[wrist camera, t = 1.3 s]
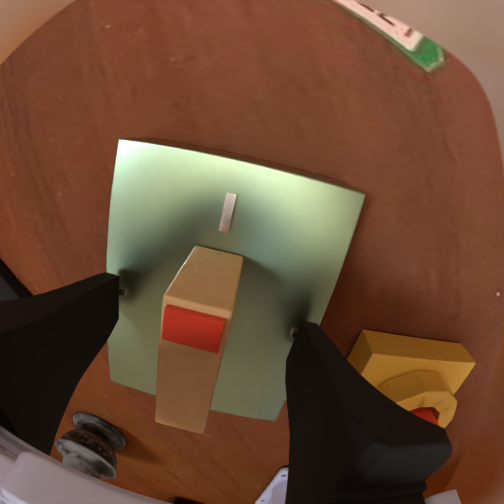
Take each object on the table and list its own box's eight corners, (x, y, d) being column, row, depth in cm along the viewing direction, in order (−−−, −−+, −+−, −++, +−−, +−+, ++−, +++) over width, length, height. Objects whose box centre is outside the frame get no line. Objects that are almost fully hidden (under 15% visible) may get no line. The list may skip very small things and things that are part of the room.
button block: (392, 437, 19) (404, 475, 15) (302, 435, 19) (305, 479, 15) (461, 343, 16) (489, 381, 12) (361, 328, 15) (383, 378, 11)
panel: (280, 385, 17) (281, 425, 14) (123, 346, 16) (103, 380, 13) (352, 184, 13) (377, 197, 10) (141, 136, 12) (108, 136, 9)
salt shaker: (64, 421, 21) (14, 513, 9) (81, 401, 19) (20, 514, 8) (114, 455, 22) (78, 550, 11) (139, 441, 20) (100, 557, 9)
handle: (217, 368, 13) (202, 440, 9) (178, 358, 13) (152, 427, 9) (244, 255, 11) (232, 317, 7) (195, 244, 11) (159, 299, 7)
